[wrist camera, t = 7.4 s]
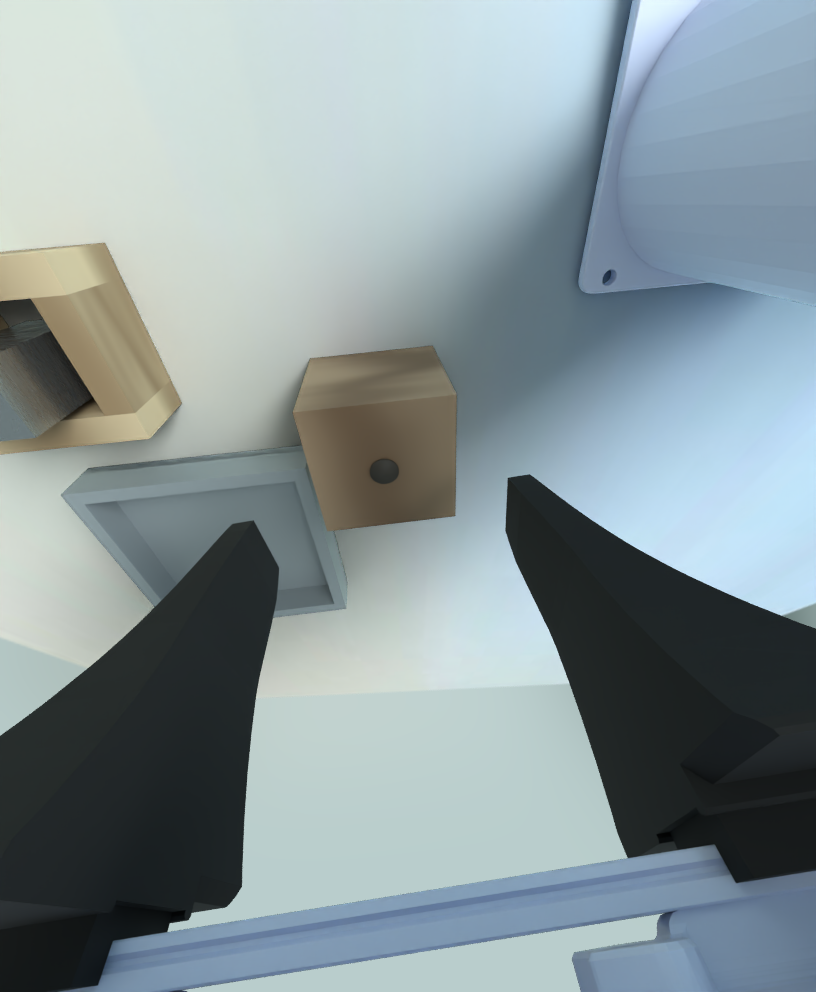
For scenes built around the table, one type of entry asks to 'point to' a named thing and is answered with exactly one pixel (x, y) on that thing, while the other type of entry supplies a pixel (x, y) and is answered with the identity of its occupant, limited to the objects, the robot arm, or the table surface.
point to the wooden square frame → (92, 345)
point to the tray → (214, 520)
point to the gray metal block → (35, 381)
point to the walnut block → (379, 437)
